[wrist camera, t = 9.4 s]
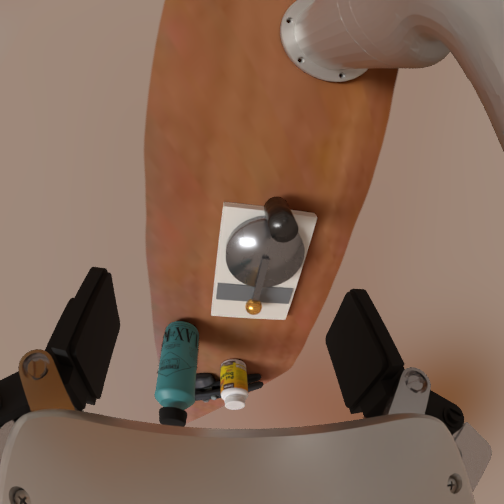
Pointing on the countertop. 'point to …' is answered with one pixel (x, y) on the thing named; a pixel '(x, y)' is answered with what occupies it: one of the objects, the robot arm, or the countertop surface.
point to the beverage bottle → (177, 372)
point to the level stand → (237, 293)
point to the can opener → (219, 386)
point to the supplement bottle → (234, 383)
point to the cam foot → (265, 250)
